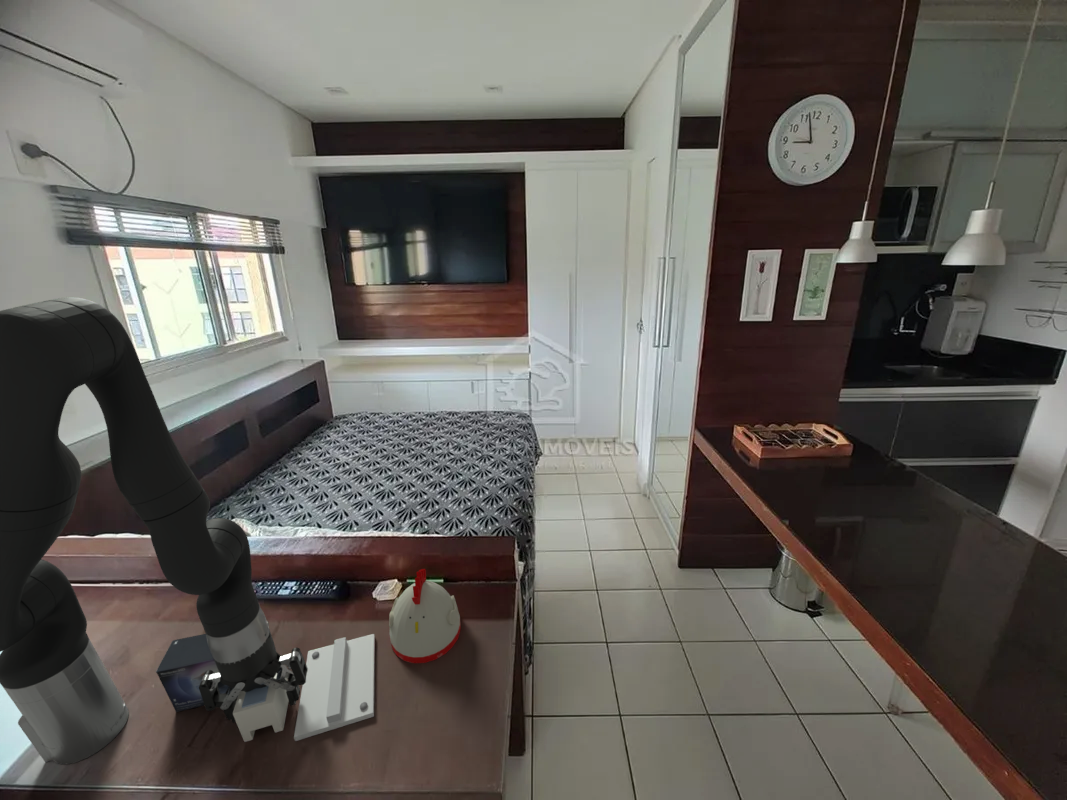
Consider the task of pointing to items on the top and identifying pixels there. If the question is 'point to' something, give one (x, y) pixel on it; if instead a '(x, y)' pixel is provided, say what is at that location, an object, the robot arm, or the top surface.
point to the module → (260, 710)
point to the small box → (187, 671)
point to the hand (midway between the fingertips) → (266, 708)
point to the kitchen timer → (423, 621)
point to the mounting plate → (351, 692)
